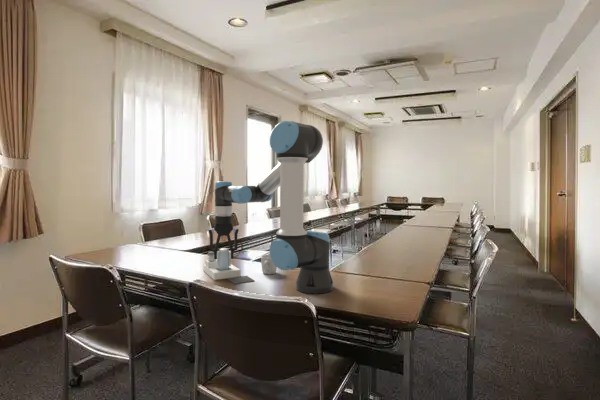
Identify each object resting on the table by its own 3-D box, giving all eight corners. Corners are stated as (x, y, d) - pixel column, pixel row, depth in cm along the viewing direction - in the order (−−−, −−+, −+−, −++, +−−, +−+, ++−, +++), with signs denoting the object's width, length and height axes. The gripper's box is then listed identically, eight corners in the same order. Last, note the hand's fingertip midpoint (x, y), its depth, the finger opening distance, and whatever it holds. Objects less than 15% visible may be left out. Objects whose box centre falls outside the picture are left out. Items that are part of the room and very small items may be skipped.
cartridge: (229, 276, 157) (229, 249, 156) (218, 276, 156) (218, 250, 155) (228, 273, 162) (228, 247, 161) (218, 274, 160) (218, 248, 160)
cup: (273, 277, 156) (273, 259, 155) (256, 276, 157) (256, 259, 157) (279, 271, 166) (279, 255, 166) (263, 270, 168) (263, 254, 168)
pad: (254, 281, 149) (254, 280, 149) (234, 284, 145) (234, 283, 145) (246, 276, 157) (246, 275, 157) (227, 279, 153) (227, 278, 152)
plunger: (217, 264, 163) (217, 252, 163) (209, 265, 162) (209, 253, 161) (214, 263, 166) (214, 251, 166) (207, 264, 165) (207, 252, 164)
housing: (240, 276, 157) (240, 264, 157) (214, 279, 151) (214, 267, 151) (227, 267, 173) (227, 256, 172) (203, 270, 167) (203, 259, 166)
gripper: (242, 214, 163) (242, 263, 164) (203, 214, 159) (203, 265, 160) (244, 215, 156) (244, 266, 157) (203, 216, 152) (203, 269, 153)
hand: (223, 265), depth 159 cm, fingers closed on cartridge, 5 cm apart
